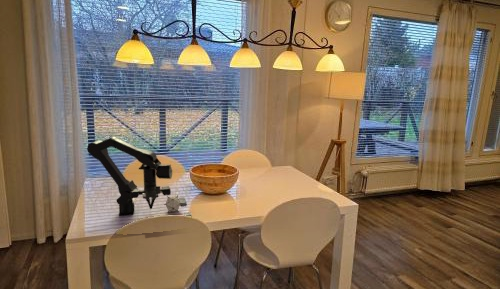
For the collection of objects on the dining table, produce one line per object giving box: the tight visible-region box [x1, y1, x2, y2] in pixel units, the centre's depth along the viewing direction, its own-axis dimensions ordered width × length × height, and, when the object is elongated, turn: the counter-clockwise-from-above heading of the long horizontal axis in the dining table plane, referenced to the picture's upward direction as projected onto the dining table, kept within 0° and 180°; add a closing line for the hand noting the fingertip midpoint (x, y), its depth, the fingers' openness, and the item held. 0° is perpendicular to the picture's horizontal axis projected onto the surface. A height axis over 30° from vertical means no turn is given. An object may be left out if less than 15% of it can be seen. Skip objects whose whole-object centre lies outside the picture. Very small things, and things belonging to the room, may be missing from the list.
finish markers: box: [178, 196, 192, 217], centre depth 171 cm, size 3×25×2 cm, turn 19°
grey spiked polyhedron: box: [163, 194, 182, 214], centre depth 167 cm, size 9×8×10 cm
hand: (151, 208), depth 163 cm, fingers closed
